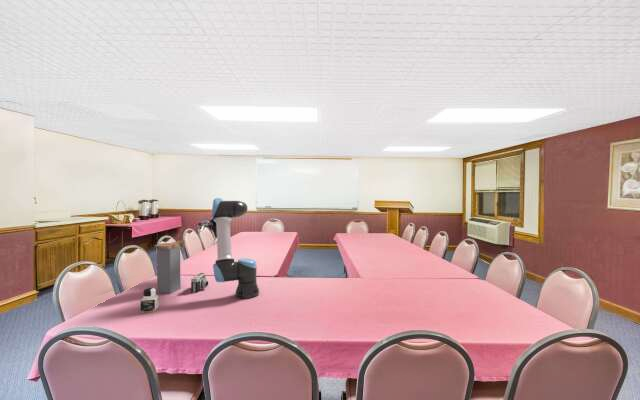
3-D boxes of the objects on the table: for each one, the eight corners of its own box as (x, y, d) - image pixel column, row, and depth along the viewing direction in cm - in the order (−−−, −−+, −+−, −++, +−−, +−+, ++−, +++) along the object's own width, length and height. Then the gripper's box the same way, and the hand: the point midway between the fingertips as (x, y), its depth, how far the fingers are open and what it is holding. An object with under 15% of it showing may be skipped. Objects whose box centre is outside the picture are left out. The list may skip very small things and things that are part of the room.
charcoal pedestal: (167, 287, 201) (167, 245, 200) (180, 288, 199) (180, 245, 198) (157, 292, 191) (156, 248, 190) (170, 293, 189) (170, 248, 188)
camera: (202, 292, 191) (202, 278, 191) (190, 292, 191) (190, 278, 191) (211, 286, 205) (211, 272, 205) (199, 286, 205) (199, 272, 205)
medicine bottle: (140, 312, 159) (140, 291, 158) (144, 307, 165) (144, 287, 165) (154, 311, 160) (154, 290, 160) (158, 306, 167) (158, 286, 167)
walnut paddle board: (175, 243, 209) (175, 240, 209) (189, 243, 207) (189, 241, 207) (153, 248, 188) (153, 245, 188) (168, 249, 186) (168, 246, 186)
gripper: (222, 234, 233) (216, 250, 214) (198, 214, 223) (189, 229, 204) (229, 229, 231) (223, 245, 212) (205, 209, 221) (197, 223, 202)
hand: (207, 237), depth 208 cm, fingers open, 13 cm apart
